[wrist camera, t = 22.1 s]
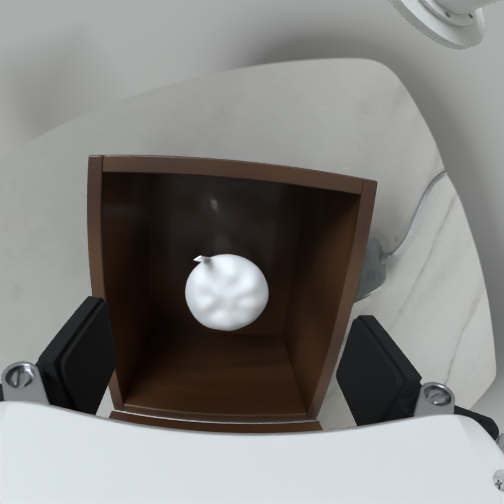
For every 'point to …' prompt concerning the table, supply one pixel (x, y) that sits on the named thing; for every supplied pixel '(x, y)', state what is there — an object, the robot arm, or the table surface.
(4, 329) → the table surface
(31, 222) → the table surface
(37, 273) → the table surface
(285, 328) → the chest
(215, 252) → the milkshake
